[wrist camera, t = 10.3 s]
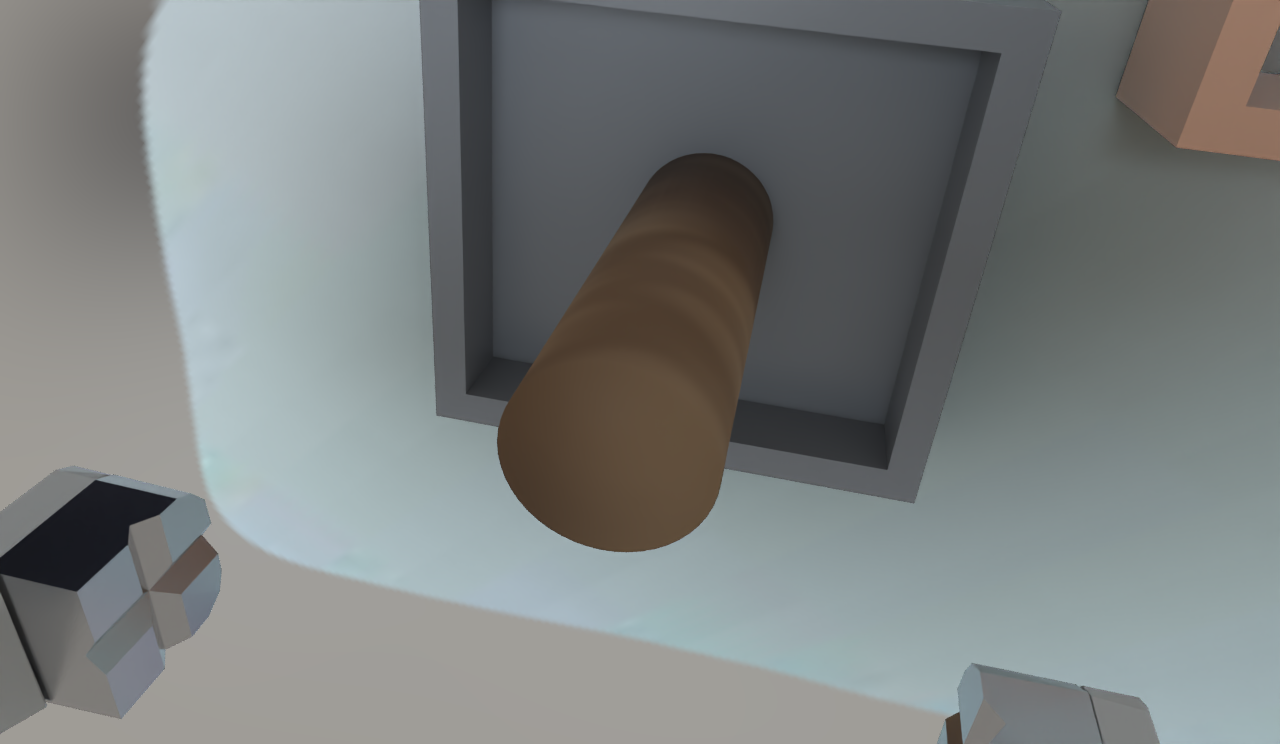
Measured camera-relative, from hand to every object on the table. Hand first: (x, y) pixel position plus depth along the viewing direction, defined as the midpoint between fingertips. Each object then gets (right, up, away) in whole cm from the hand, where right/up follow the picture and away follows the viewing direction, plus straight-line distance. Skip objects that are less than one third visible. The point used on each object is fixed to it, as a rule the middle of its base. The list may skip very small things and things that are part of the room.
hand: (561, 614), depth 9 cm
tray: (+3, +6, +12) cm, 14 cm away
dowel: (+2, +6, +12) cm, 13 cm away
